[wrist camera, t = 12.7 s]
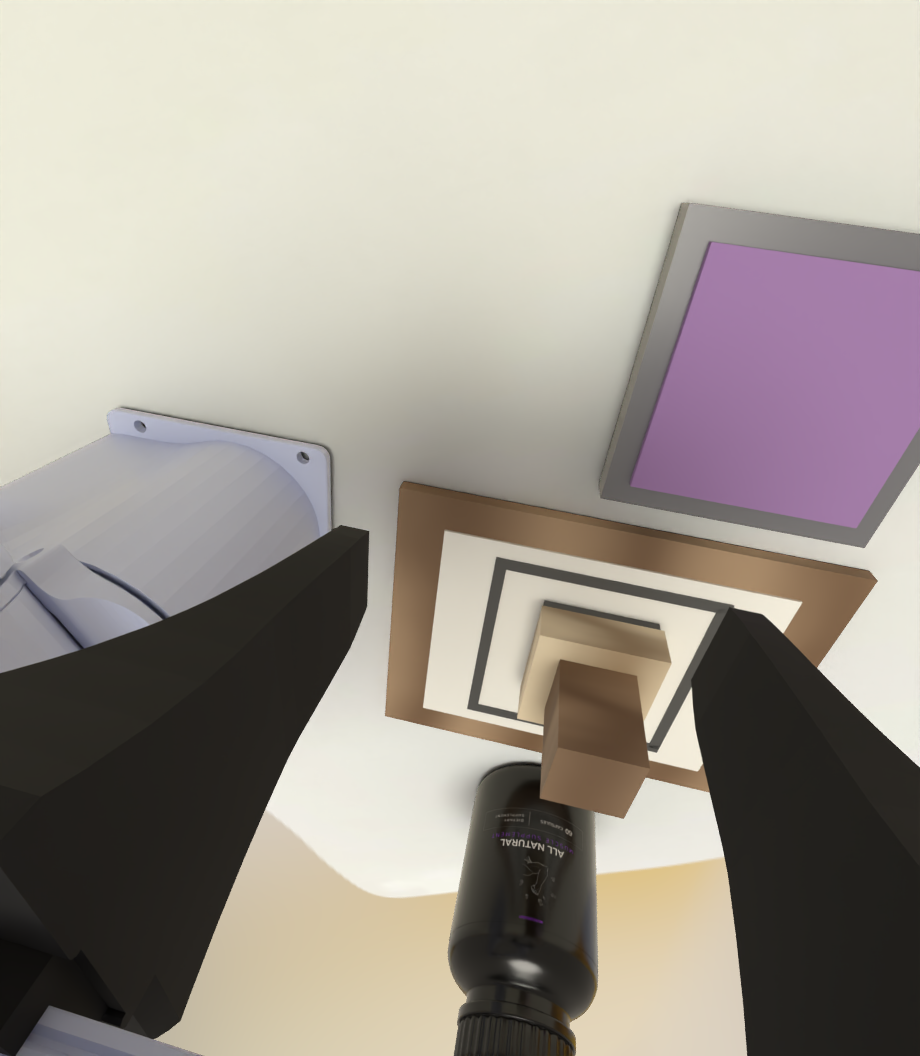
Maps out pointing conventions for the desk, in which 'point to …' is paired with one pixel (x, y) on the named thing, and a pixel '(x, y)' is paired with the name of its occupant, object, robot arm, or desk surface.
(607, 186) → the desk surface
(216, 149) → the desk surface
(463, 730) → the stamp board
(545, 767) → the stamp
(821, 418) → the ink pad
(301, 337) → the desk surface
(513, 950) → the supplement bottle
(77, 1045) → the robot arm
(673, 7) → the desk surface
